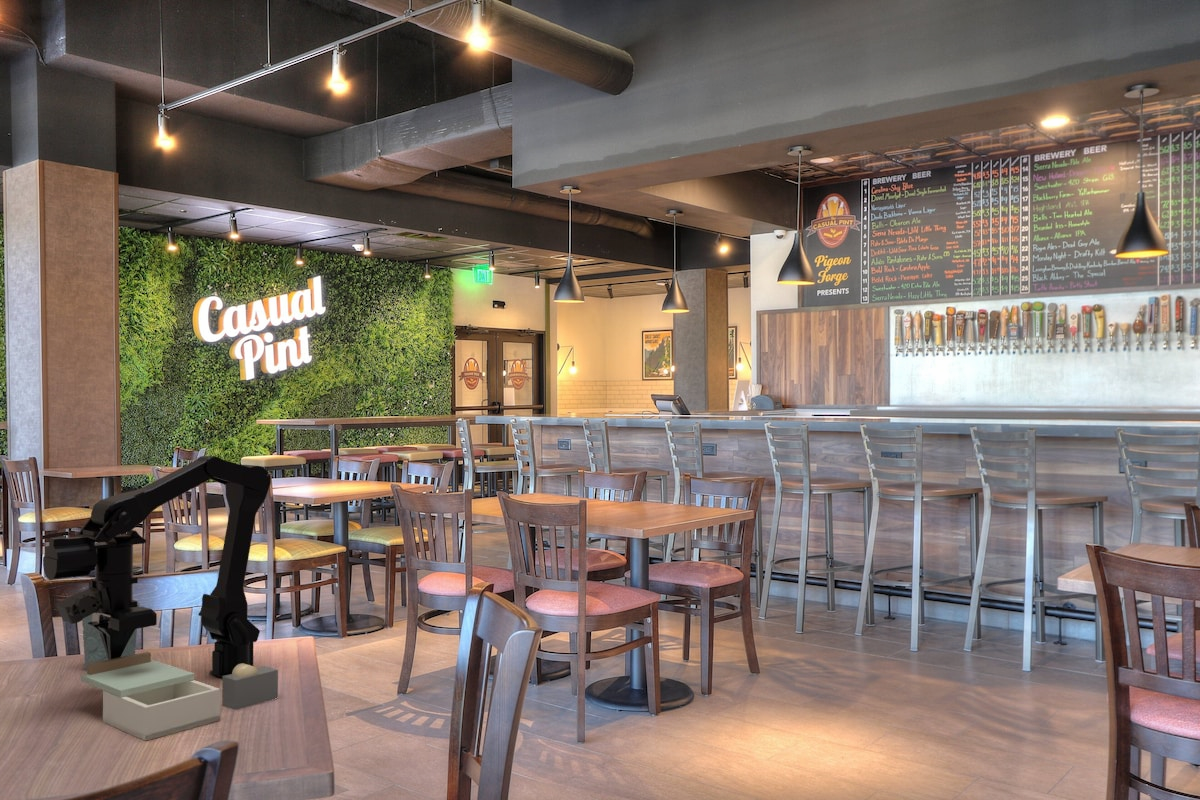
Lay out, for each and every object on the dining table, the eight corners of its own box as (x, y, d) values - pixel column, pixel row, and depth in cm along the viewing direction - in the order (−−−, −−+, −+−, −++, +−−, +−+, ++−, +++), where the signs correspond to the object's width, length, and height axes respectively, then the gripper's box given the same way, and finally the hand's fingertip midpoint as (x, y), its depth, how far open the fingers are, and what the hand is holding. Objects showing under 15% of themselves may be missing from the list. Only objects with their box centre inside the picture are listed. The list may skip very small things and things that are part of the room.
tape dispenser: (264, 694, 163) (264, 656, 164) (277, 698, 161) (277, 660, 161) (222, 705, 157) (222, 666, 157) (235, 710, 155) (235, 670, 155)
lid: (152, 665, 163) (153, 650, 163) (194, 679, 154) (194, 663, 154) (80, 681, 154) (80, 665, 154) (120, 697, 145) (120, 680, 145)
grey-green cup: (79, 675, 175) (79, 611, 175) (81, 662, 184) (81, 602, 184) (139, 668, 179) (140, 606, 179) (138, 656, 188) (138, 597, 188)
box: (175, 703, 158) (176, 673, 158) (220, 720, 149) (220, 688, 149) (102, 721, 149) (103, 690, 149) (145, 741, 140) (145, 707, 140)
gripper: (40, 572, 159) (39, 664, 159) (88, 585, 147) (88, 683, 147) (108, 564, 168) (107, 651, 167) (158, 575, 156) (157, 668, 156)
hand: (113, 663), depth 159 cm, fingers closed
